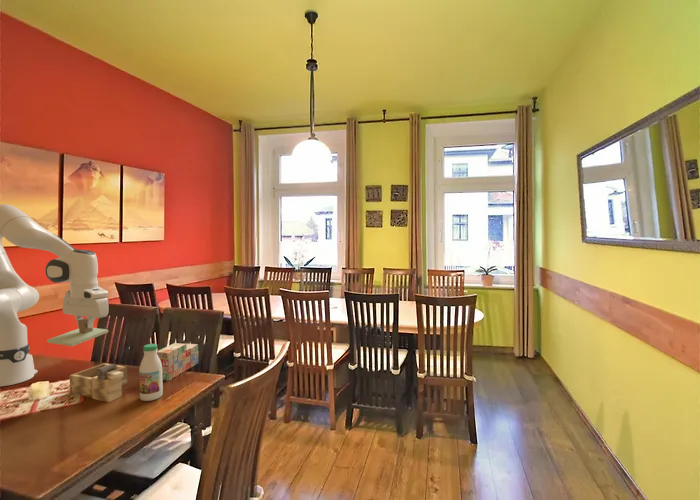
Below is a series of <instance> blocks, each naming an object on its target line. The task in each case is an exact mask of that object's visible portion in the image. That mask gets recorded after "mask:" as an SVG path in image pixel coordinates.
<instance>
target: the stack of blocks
mask: <svg viewBox="0 0 700 500" xmlns="http://www.w3.org/2000/svg"><path fill="white" fill-rule="evenodd" d="M199 352H200V351H199V344H198V343H197V344H196V343H176V342H174V343H172V344H169V345H168V346H166V347H163V348H160V349H158V350H157V355H158V357H159V359H160V361H161V364H162V379H163V381H165V380H167V382H170V381H171V380H173V379H175V378H176V377H178V376H180V375H181V374H183V373H184V372H187V371H188V370H189V369H191V368H193V367H194V366H197V365H198V364H199V363H200V361H199V360H200V358H199V356H200V355H199V354H200V353H199ZM182 372H183V373H182ZM180 373H181V374H180ZM179 374H180V375H179ZM174 377H175V378H174ZM172 378H173V379H172Z"/></svg>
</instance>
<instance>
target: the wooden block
mask: <svg viewBox="0 0 700 500" xmlns="http://www.w3.org/2000/svg"><path fill="white" fill-rule="evenodd" d="M105 377H106V378H108V379H113V380H118V379H120V378H123V372H120V371H115V370H107V371H105Z"/></svg>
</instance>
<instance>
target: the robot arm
mask: <svg viewBox="0 0 700 500" xmlns="http://www.w3.org/2000/svg"><path fill="white" fill-rule="evenodd" d="M3 238H5V240H7V242H9V243H11V244H13V245H14V246H17V247H19V248H24V249H35V250H41V251H46V252H48V253H49V252H50V253H52V254H54V255H56V256H57V257H58V258H57V257H56V258H53V259H51V260H49V261H48V263H46V266H45V276H46V277H47V279H48V280H49V281H50V282H52V283H55V284H62V283H63V284H64V283H70V284H69V285H70V287H69V288H70V289H68V290H67V291H65V294H64V297H63V299H62V300H63V301H62V307H61V308H62V309H61V310H62V314H64V315H71V316H74V318H75V321H76V323H77V327H78V328H79V325H78V320H81V319H83V317H85V318H87V319H89V320H88V323H86V328H94V322H95V321H96V319H101V318H105V317H108V314H109V309H110V308H109V299H108V298H107V297H109V291H108V290H106V289H104V288H103V287H101V286H99V281H98V274H99V263H98V262H99V261H98V257H97V254H96V252H94V251H93V250H89V249H77V248H75V247H74V246H72V245H71V244H70V243H68V242H67V241H65V240H64V239H63V238H62V237H60V236H58V235H57V234H55V233H53V232H52V231H50V230H48V229H46V228H44V227H43V226H42V225H40V224H39V223H38V222H36V221H35V220H34V219H33V218H32V217H30V216H29V215H28V214H26V213H25V212H24V211H23V210H21V209H20V208H18V207H16V206H14V205H12V204H8V203H3V204H0V387H6V386H12V385H17V384H20V383H23V382H26V381H29V380H30V379H33V377H34V376H35V375H36V374H37V373H38V370H37V369H35V365H34V359H33V357H34V356H33V355H32V354H31V353H30V344H29V343H28V342H29V341H28V327H27V325H26V324H24V323H22V322H21V321H20V319H19V316H18V313H19V312H23V311H26V310H29V309H31V308H32V307H33V306H36V305H37V304H38V302H39V300H40V294H39V291H38V290H37V289H36V288H35V287H33V286H31V285H29V284H28V283H26V282H25V281H24V280H23V279H22V278H21V276H20V275H18V273H17V272H16V271H15V269H14V267H13V265H12V263H11V260H10V259H9V256H8V254H7V252H6V249H5V248H4V246H3V242H2V240H3Z"/></svg>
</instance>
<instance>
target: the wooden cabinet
mask: <svg viewBox="0 0 700 500" xmlns="http://www.w3.org/2000/svg"><path fill="white" fill-rule="evenodd" d="M107 370H115V371H120V372H123V378H120V379H118V380H113V379H108V378H106V377H105V371H107ZM127 384H128V366H124V365H118V364H112V363H107V362H103V363H101V364H100V363H99V364H97V365H94V366H92V367H89V368H86V369H83V370H81V371H78V372H77V371H76V372H75V373H72V374H70V375H69V392H70V394H74V395H79V396H83V397H87V398H92V399H93V400H97V401H102V402H106V403H111V402H113V401H115V400H117V399H119V398H122V396H123V391H122V390H123V389H122V388H123V387H122V386H125V385H127Z"/></svg>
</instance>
